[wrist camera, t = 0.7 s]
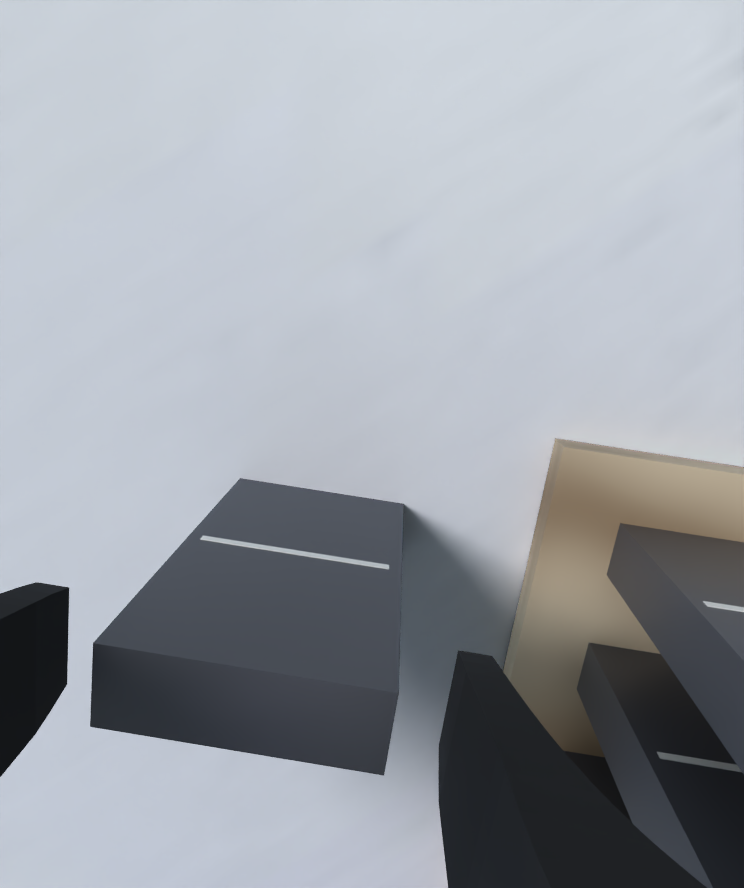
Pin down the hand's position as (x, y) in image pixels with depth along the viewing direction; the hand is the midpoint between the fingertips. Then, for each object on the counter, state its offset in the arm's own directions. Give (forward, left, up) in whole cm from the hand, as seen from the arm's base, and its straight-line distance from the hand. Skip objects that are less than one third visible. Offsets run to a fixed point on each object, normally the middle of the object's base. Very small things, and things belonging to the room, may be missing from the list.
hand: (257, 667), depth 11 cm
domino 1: (0, 0, -8) cm, 8 cm away
